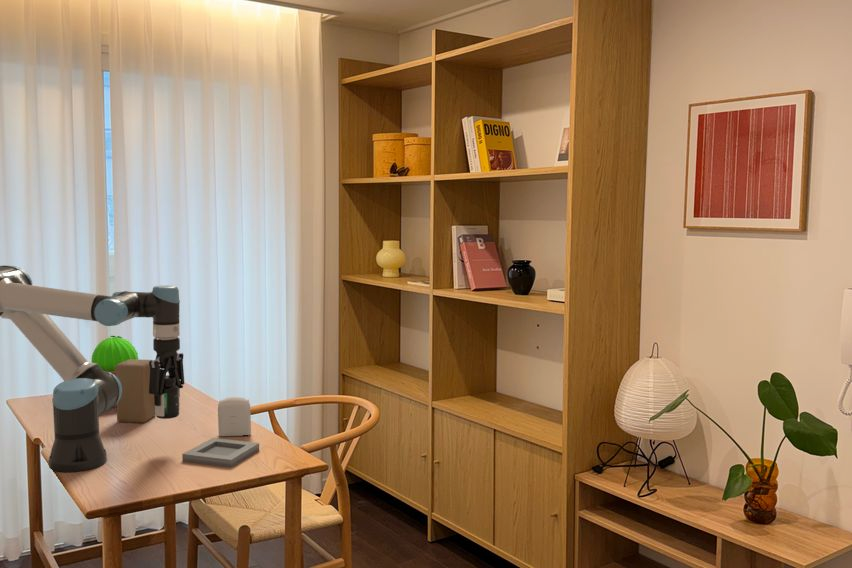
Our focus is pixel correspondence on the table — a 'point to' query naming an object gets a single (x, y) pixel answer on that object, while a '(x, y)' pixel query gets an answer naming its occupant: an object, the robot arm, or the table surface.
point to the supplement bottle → (170, 398)
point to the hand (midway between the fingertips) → (167, 412)
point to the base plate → (220, 452)
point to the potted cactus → (113, 353)
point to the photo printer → (234, 417)
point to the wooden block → (134, 391)
